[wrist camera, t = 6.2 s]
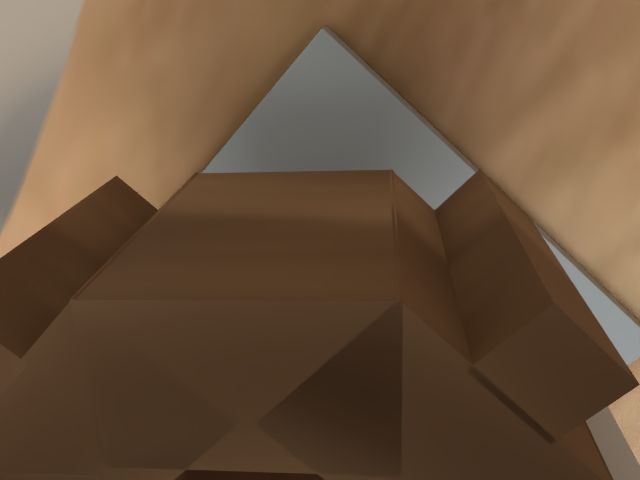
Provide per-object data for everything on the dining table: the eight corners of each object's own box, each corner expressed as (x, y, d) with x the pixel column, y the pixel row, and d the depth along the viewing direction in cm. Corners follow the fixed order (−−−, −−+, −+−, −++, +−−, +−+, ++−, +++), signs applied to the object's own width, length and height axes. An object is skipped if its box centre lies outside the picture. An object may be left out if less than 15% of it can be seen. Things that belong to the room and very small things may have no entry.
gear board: (326, 25, 23) (297, 41, 17) (644, 326, 27) (729, 443, 20) (77, 324, 30) (-16, 423, 23) (355, 533, 34) (344, 674, 27)
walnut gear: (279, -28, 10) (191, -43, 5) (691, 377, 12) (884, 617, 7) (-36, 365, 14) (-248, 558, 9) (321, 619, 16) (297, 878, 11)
